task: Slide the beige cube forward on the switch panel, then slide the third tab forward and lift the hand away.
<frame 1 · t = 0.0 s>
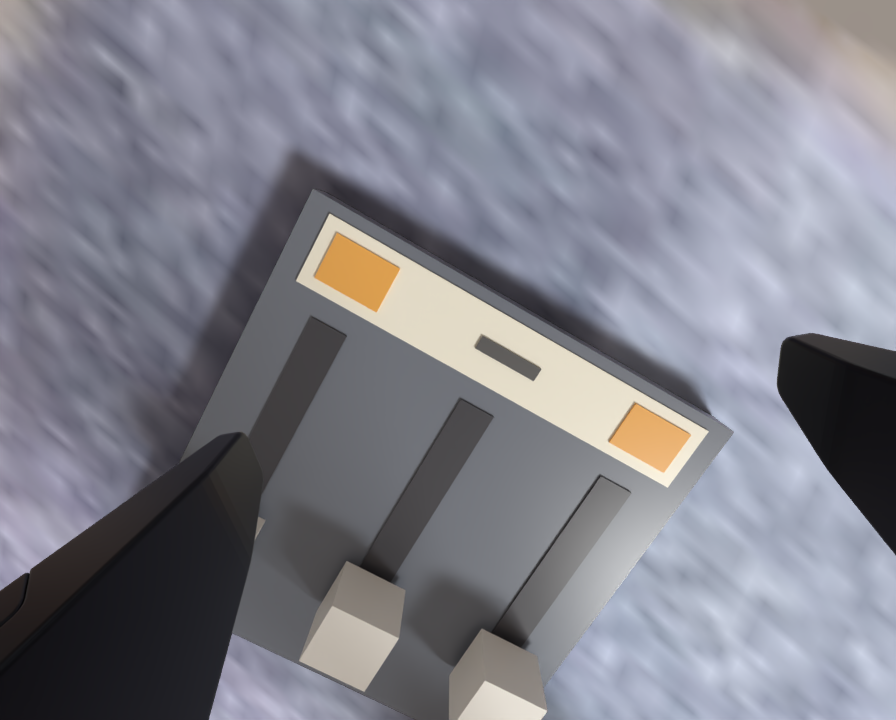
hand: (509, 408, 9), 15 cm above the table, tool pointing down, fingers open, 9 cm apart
tab 3: (205, 550, 23), point 4 cm above the table, slide at 0.0 cm
tab 2: (355, 623, 24), point 4 cm above the table, slide at 0.0 cm
switch panel: (417, 488, 27), on the table
beige cube 1: (495, 692, 25), point 4 cm above the table, slide at 0.0 cm
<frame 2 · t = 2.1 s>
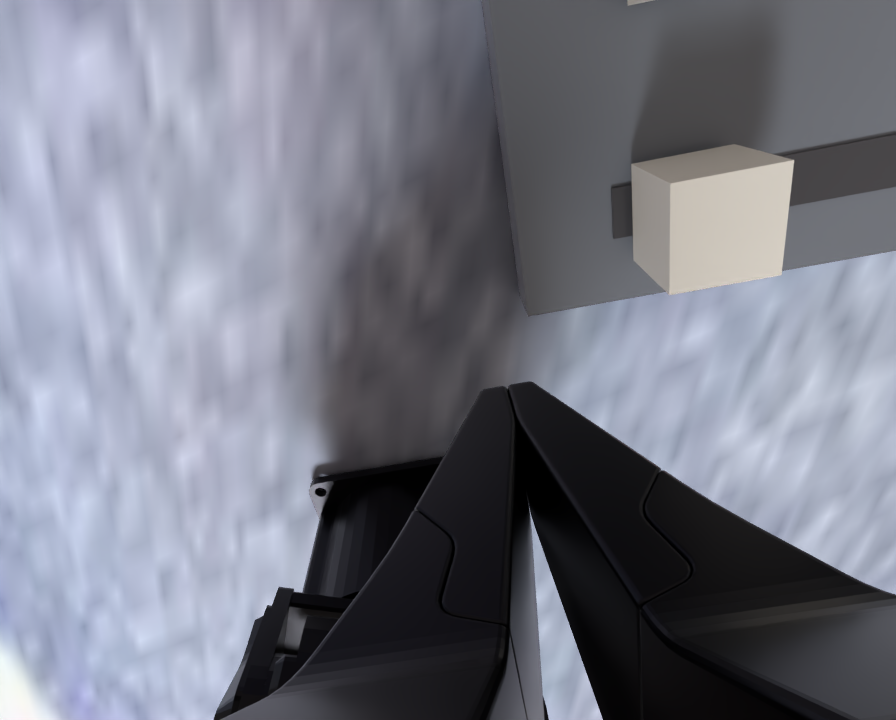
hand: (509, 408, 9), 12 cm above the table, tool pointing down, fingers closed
beige cube 1: (703, 217, 16), point 4 cm above the table, slide at 0.0 cm
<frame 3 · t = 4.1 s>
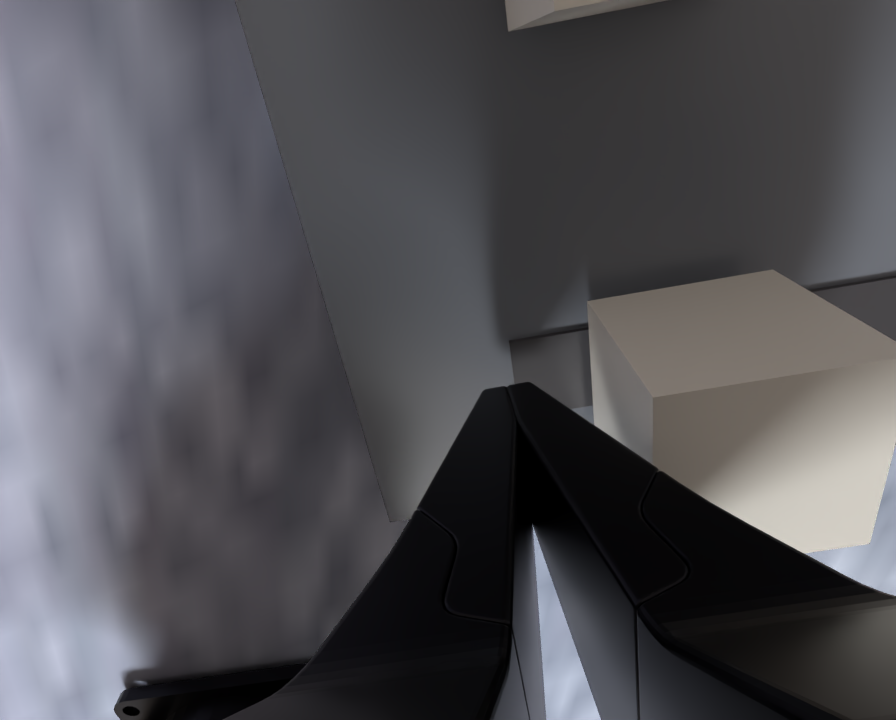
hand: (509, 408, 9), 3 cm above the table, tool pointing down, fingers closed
beige cube 1: (716, 412, 8), point 4 cm above the table, slide at 0.8 cm, touching gripper
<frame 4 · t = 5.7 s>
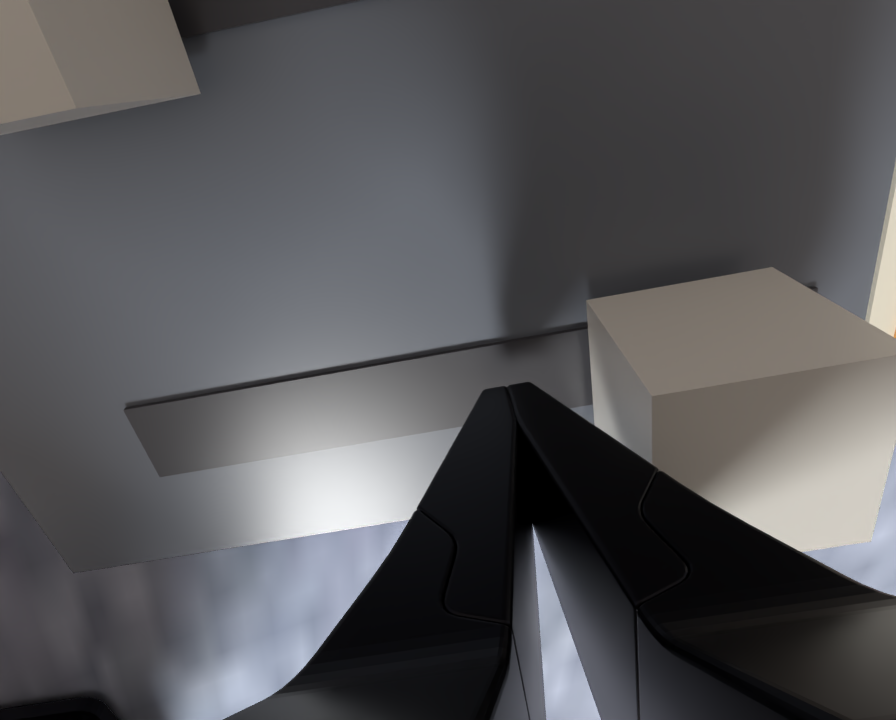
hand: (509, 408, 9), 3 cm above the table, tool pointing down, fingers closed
beige cube 1: (716, 410, 8), point 4 cm above the table, slide at 8.0 cm, touching gripper
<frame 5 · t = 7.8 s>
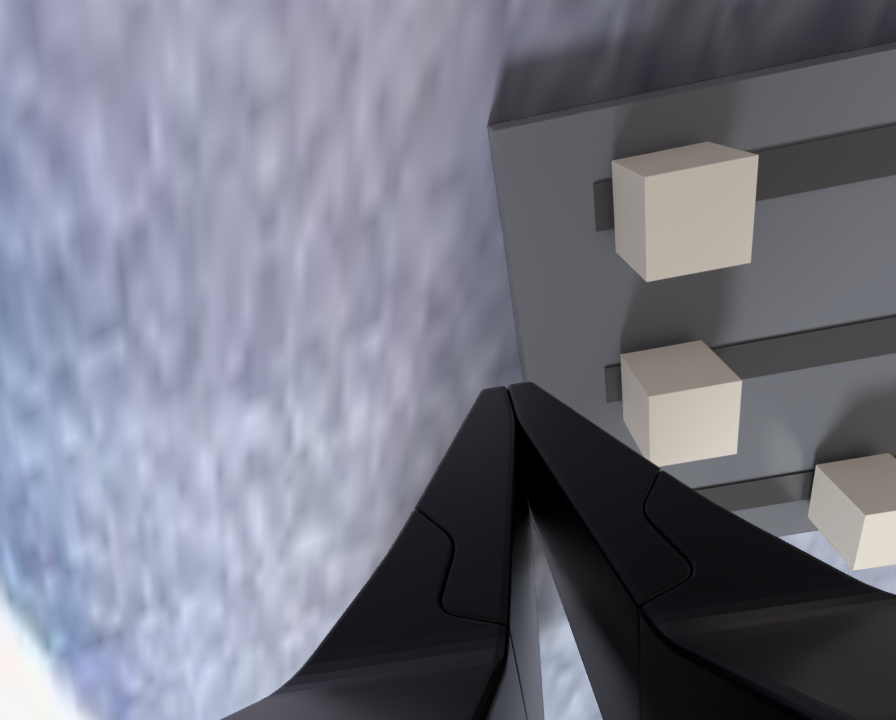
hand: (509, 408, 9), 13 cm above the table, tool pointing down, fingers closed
tab 3: (678, 209, 17), point 4 cm above the table, slide at 0.0 cm
tab 2: (676, 402, 20), point 4 cm above the table, slide at 0.0 cm
switch panel: (759, 331, 23), on the table
beige cube 1: (871, 510, 23), point 4 cm above the table, slide at 8.0 cm
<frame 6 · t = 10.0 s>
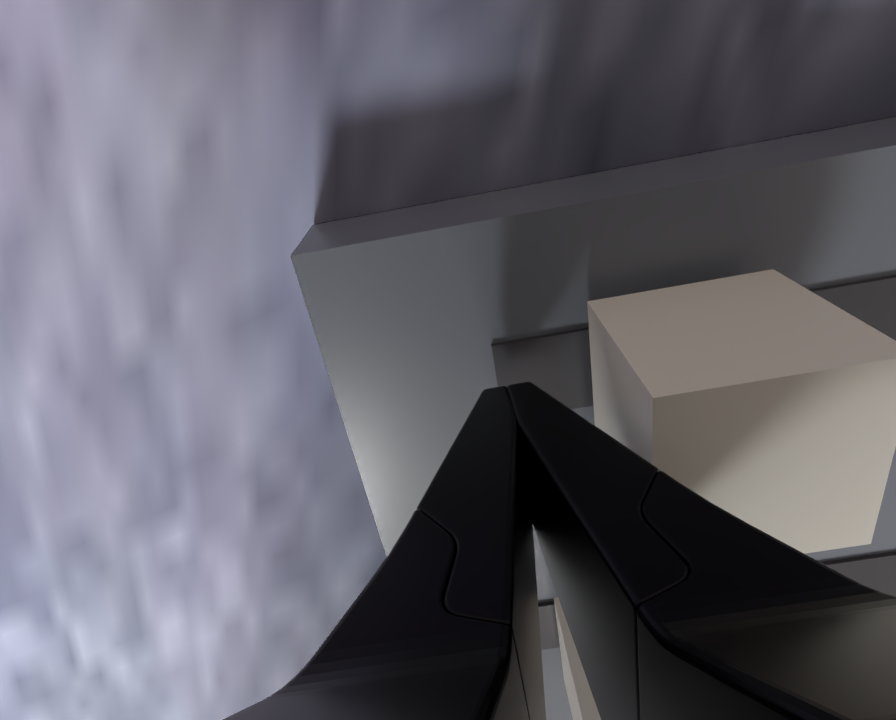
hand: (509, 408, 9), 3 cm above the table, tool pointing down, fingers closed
tab 3: (717, 412, 8), point 4 cm above the table, slide at 1.2 cm, touching gripper
tab 2: (644, 694, 12), point 4 cm above the table, slide at 0.0 cm
switch panel: (780, 522, 15), on the table
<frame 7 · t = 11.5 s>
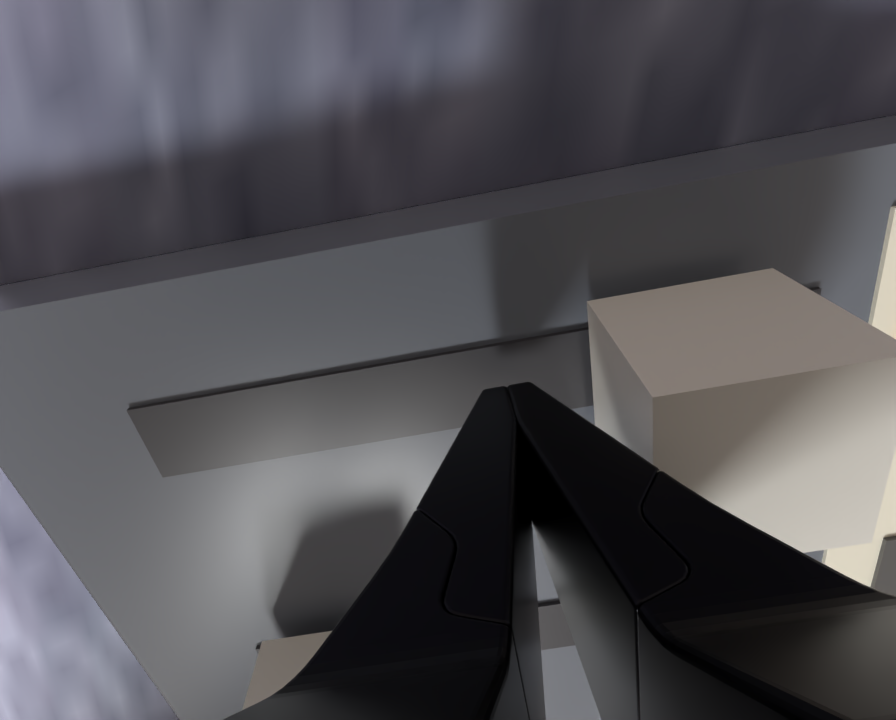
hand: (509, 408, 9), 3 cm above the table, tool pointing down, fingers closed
tab 3: (717, 411, 8), point 4 cm above the table, slide at 7.9 cm, touching gripper
switch panel: (531, 560, 15), on the table
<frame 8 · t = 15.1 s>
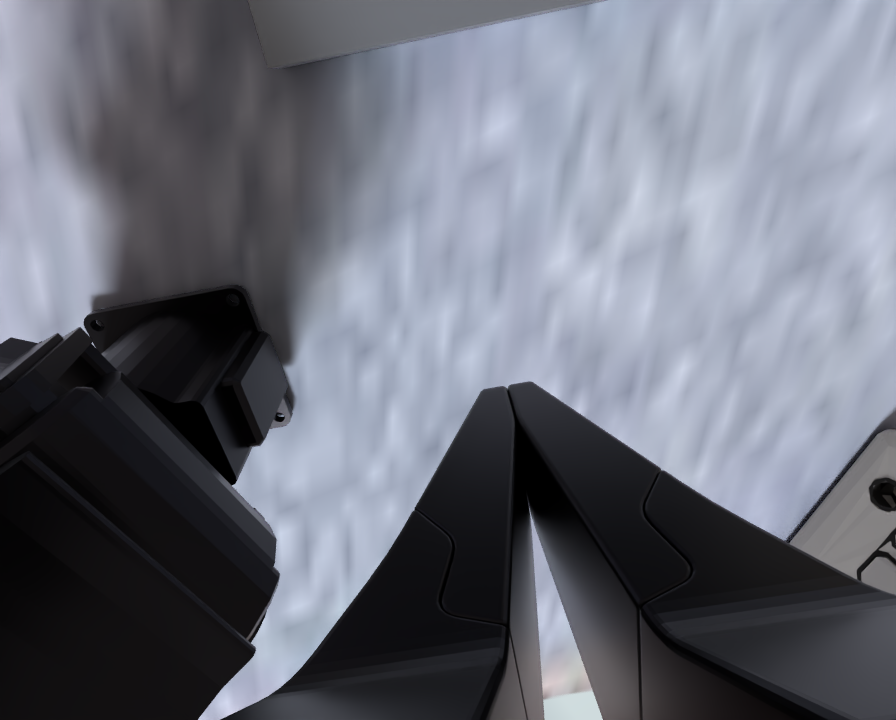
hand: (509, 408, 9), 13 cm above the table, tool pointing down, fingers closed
electrical switch: (867, 497, 28), on the table
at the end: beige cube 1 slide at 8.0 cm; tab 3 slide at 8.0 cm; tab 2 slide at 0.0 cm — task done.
